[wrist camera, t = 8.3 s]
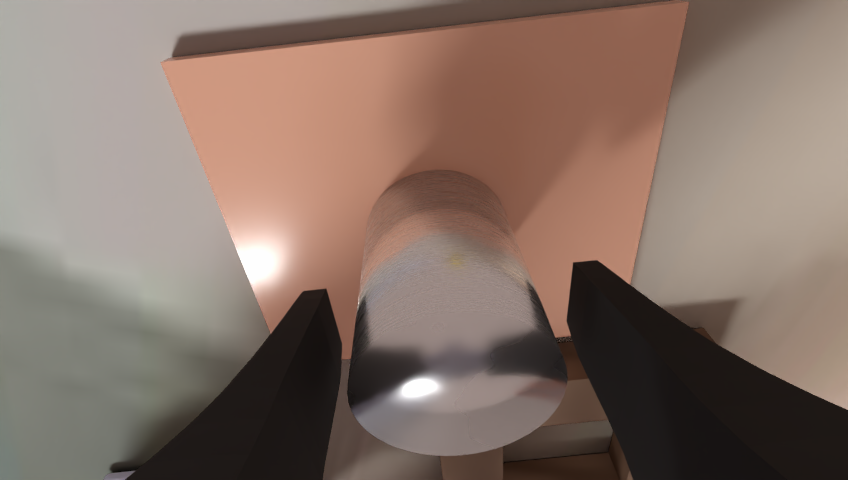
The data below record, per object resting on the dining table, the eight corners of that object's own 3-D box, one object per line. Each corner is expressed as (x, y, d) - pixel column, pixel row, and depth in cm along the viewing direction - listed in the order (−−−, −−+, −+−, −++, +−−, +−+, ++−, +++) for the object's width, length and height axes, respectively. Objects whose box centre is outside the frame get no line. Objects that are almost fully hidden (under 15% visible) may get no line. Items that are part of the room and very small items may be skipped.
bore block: (447, 495, 26) (450, 533, 24) (428, 356, 19) (430, 394, 18) (651, 475, 26) (668, 512, 24) (703, 328, 19) (732, 364, 17)
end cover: (385, 298, 17) (378, 468, 11) (349, 185, 14) (316, 335, 8) (512, 275, 16) (568, 439, 11) (500, 156, 14) (566, 292, 8)
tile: (286, 354, 19) (283, 365, 18) (170, 57, 12) (160, 62, 12) (614, 320, 19) (620, 331, 18) (677, -1, 12) (689, 1, 11)
